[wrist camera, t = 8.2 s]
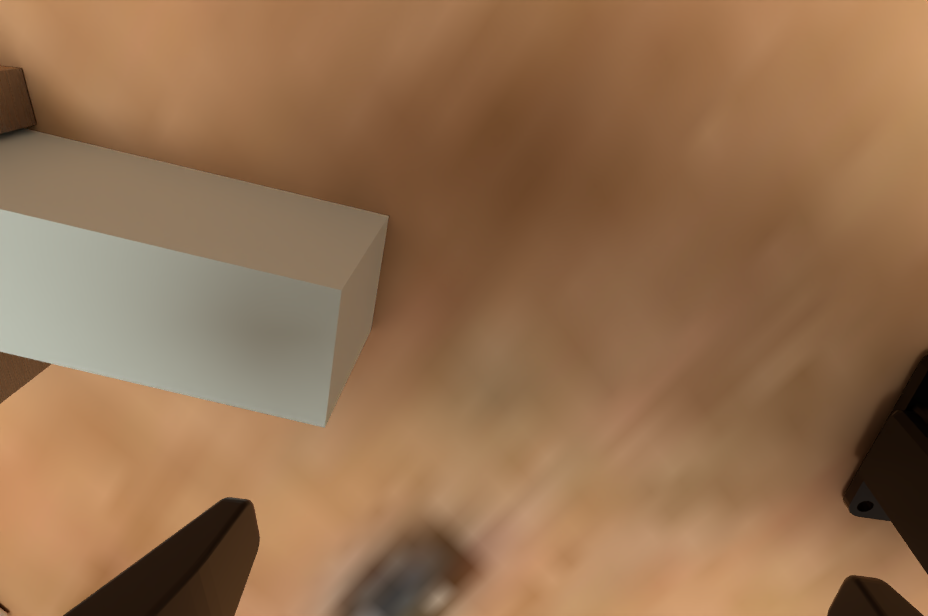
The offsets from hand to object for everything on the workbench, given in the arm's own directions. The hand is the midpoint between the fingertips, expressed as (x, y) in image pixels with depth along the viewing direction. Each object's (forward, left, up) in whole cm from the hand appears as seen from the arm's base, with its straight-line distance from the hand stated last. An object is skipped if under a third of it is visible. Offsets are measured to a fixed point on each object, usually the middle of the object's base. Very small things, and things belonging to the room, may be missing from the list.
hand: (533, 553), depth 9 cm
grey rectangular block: (+11, 0, -10) cm, 14 cm away
